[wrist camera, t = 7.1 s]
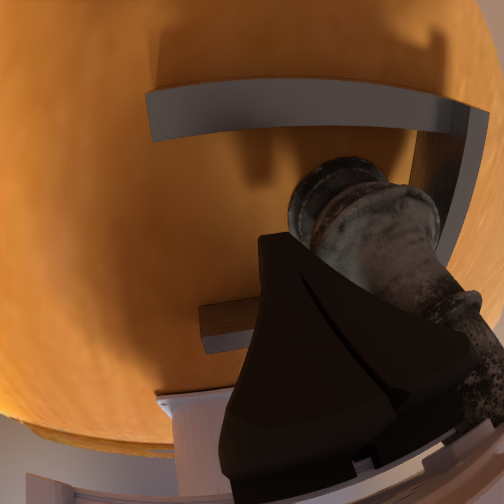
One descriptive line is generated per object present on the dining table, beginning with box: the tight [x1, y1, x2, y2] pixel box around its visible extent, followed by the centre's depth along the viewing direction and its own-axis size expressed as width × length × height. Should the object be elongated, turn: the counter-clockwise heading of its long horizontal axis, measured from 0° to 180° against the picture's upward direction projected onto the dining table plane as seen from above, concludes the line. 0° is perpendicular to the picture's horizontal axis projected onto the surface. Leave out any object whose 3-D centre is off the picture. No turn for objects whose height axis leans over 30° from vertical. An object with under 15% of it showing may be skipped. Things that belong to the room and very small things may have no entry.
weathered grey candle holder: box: [288, 157, 504, 446], centre depth 8 cm, size 6×6×12 cm
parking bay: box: [145, 76, 490, 354], centre depth 11 cm, size 12×12×3 cm
